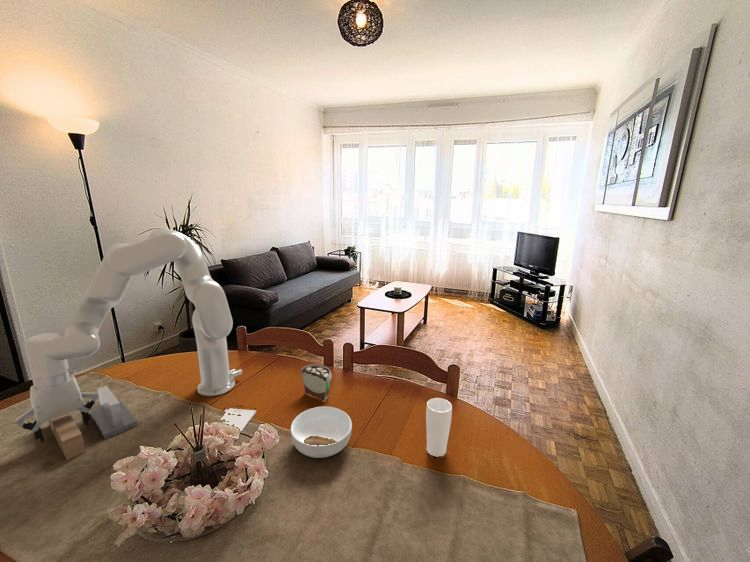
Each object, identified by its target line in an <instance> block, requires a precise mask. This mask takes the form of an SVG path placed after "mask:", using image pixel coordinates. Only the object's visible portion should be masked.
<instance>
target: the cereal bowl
mask: <svg viewBox="0 0 750 562" xmlns="http://www.w3.org/2000/svg"><path fill="white" fill-rule="evenodd" d="M352 430H353V422H352V419H351V417H350V416H349V415H348V414H347V412H345V411H343V410H342V409H340V408H336V407H335V406H333V407H332V406H316V407H313V408H308V409H306V410H305V411H302V412H301V413H299V414H298V415H297V416H296V417H295V418H294V419H293V421H292V422H291V426H290V434H291V435H290V437H291V440H292V444H293V445H294V447H295V448H296V450H298V452H300V453H301V454H302V455H305V456H307V457H310V458H315V459H319V458H320V459H322V458H329V457H331V456H334V455H336V454H338V453H339V452H341V451H342V450H343V449H345V447H346V446H347V444H348V443H349V441H350V439H351V435H352ZM310 436H319V437H323V438H328V439H333V440H335V441H337V442H335V443H332V444H328V445H319V446H317V445H309V444H305V443H304V440H305V439H306V438H308V437H310Z"/></svg>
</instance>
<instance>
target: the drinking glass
mask: <svg viewBox="0 0 750 562" xmlns="http://www.w3.org/2000/svg"><path fill="white" fill-rule="evenodd" d="M425 410H426V412H425V422H426V423H425V426H426V429H425V430H426V452H427V451H428V452H427V454H428V453H429V454H430V455H433V456H436V457H438V456H443V455H444V454H445V453H446V454H447V447H448V441H449V434H450V430H451V424H452V415H453V405H452V403H451V402H450V401H448V399H445V398H441V397H433V398H430V399H429V400H428V401H427V402H426V409H425ZM429 454H428V455H429ZM446 454H445V455H446ZM430 455H429V456H430ZM445 455H444V456H445ZM444 456H443V457H444Z"/></svg>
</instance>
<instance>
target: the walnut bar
mask: <svg viewBox="0 0 750 562" xmlns="http://www.w3.org/2000/svg"><path fill="white" fill-rule="evenodd" d="M47 422H48V425H50V426H49V427H51V428H50V429H52V430H51V431H53V432H52V433H54V434H53V435H54V437H55V439H56V441H57V444H58V445H59V448H60V449H61V451H62V453H63V455H64V457H65V459H66V461H69V460H70V459H73V458H75V457H77V456H79V455H81V454H80V453H82V454H84V453H86V452H87V451H86V446H85V442H84V437H83V433H82V432H81V430H80V428H79V427H78V425H77V423H76V422H75V420H74V418H73V416H72V415H71V413H68V414H66V415H63V416H60V417H57V418H54V419H51V420H48V421H47ZM85 451H86V452H85ZM83 452H84V453H83ZM78 454H79V455H78ZM76 455H77V456H76ZM74 456H75V457H74ZM72 457H73V458H72Z"/></svg>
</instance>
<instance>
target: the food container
mask: <svg viewBox="0 0 750 562" xmlns="http://www.w3.org/2000/svg"><path fill="white" fill-rule="evenodd" d="M300 373H301V374H302V382H303V391H304V394H305V393H307V394H310V395H312V396H315V397H317V398H319V399H321V400H324V401H326V400H327V398H328V399H329V393H330V382H331V380H332V378H333V376H332V372H331V369H330V368H329V367H328V366H326V365H323V364H308V365H305V366H303V367H301V369H300ZM327 401H328V400H327ZM327 401H326V402H327Z"/></svg>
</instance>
